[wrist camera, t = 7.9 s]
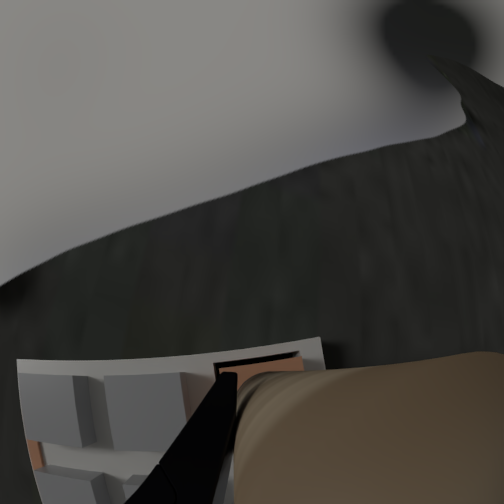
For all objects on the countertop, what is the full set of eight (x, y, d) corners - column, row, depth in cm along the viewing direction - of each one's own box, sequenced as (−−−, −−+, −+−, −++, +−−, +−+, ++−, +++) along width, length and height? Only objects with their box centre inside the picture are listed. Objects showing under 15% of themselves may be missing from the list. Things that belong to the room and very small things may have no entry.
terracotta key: (303, 425, 17) (313, 432, 14) (231, 437, 16) (231, 447, 14) (292, 358, 18) (301, 356, 16) (221, 368, 18) (218, 368, 15)
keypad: (334, 504, 16) (356, 529, 12) (63, 511, 14) (35, 530, 9) (310, 340, 21) (329, 332, 16) (35, 362, 18) (-1, 355, 14)
